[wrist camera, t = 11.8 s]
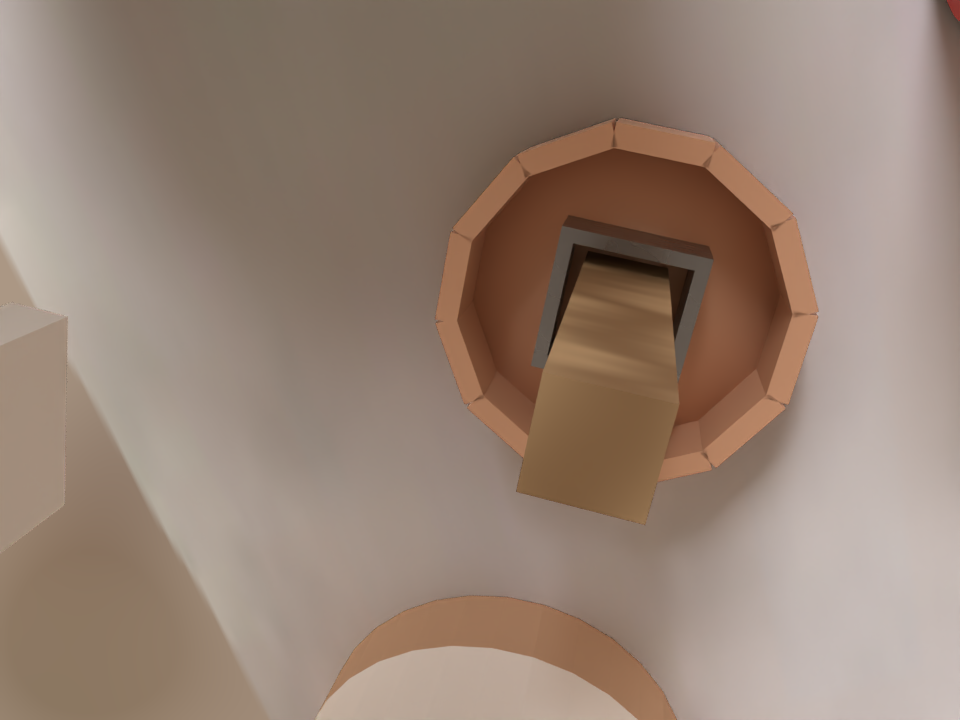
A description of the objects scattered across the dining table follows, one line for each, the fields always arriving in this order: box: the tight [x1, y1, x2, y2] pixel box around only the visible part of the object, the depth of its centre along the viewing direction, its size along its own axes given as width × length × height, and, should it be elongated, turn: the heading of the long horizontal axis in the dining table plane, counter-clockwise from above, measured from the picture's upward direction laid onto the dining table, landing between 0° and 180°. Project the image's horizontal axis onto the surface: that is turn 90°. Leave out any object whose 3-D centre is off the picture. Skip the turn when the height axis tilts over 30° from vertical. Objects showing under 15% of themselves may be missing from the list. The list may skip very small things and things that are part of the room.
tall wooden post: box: [516, 251, 679, 525], centre depth 25 cm, size 3×3×14 cm
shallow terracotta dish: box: [435, 118, 819, 482], centre depth 31 cm, size 13×13×4 cm
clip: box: [531, 215, 714, 382], centre depth 31 cm, size 5×5×2 cm
